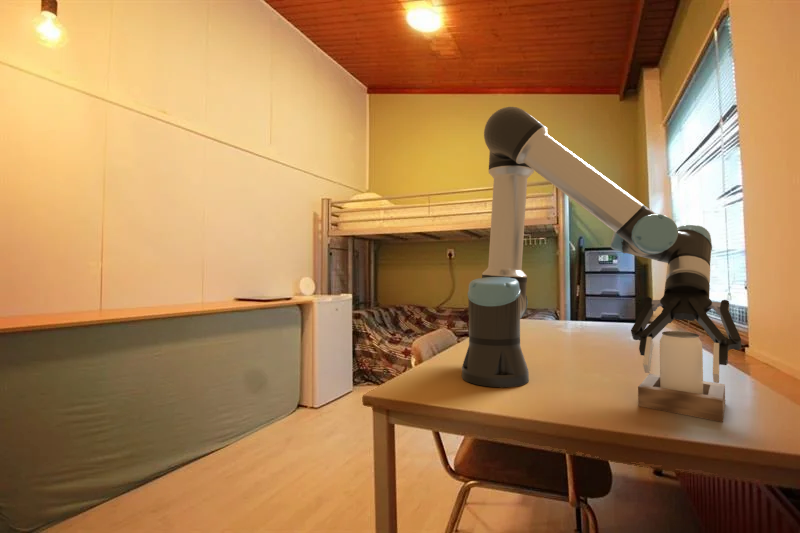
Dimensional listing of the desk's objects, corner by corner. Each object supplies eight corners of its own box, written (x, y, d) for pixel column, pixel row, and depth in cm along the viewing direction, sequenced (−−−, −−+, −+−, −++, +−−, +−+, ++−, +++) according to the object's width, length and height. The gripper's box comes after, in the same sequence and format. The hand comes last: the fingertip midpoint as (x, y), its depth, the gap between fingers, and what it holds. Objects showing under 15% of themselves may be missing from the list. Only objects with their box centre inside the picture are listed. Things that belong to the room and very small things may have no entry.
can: (711, 405, 69) (710, 337, 69) (670, 403, 70) (669, 337, 70) (691, 392, 75) (690, 330, 75) (654, 391, 76) (653, 330, 76)
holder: (638, 405, 72) (638, 386, 72) (649, 390, 81) (649, 373, 81) (722, 422, 64) (722, 400, 64) (725, 403, 73) (724, 384, 73)
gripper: (758, 296, 77) (763, 397, 65) (630, 293, 91) (614, 374, 79) (758, 269, 73) (764, 371, 61) (624, 270, 87) (607, 352, 75)
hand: (679, 373), depth 70 cm, fingers open, 9 cm apart
